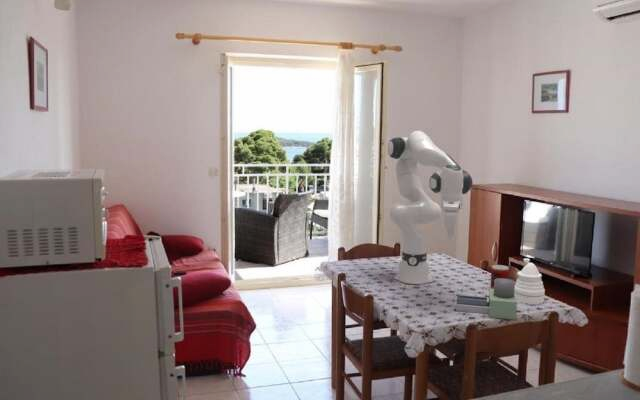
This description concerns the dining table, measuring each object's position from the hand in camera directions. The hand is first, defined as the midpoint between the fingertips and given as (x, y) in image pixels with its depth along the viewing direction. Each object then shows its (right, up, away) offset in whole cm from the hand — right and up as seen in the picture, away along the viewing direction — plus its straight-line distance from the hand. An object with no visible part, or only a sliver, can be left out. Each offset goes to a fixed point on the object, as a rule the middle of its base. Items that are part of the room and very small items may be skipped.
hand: (450, 236), depth 236 cm
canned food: (+28, -27, +23) cm, 45 cm away
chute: (+8, -30, -5) cm, 31 cm away
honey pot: (+36, -29, +8) cm, 47 cm away
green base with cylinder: (+13, -30, -7) cm, 33 cm away
